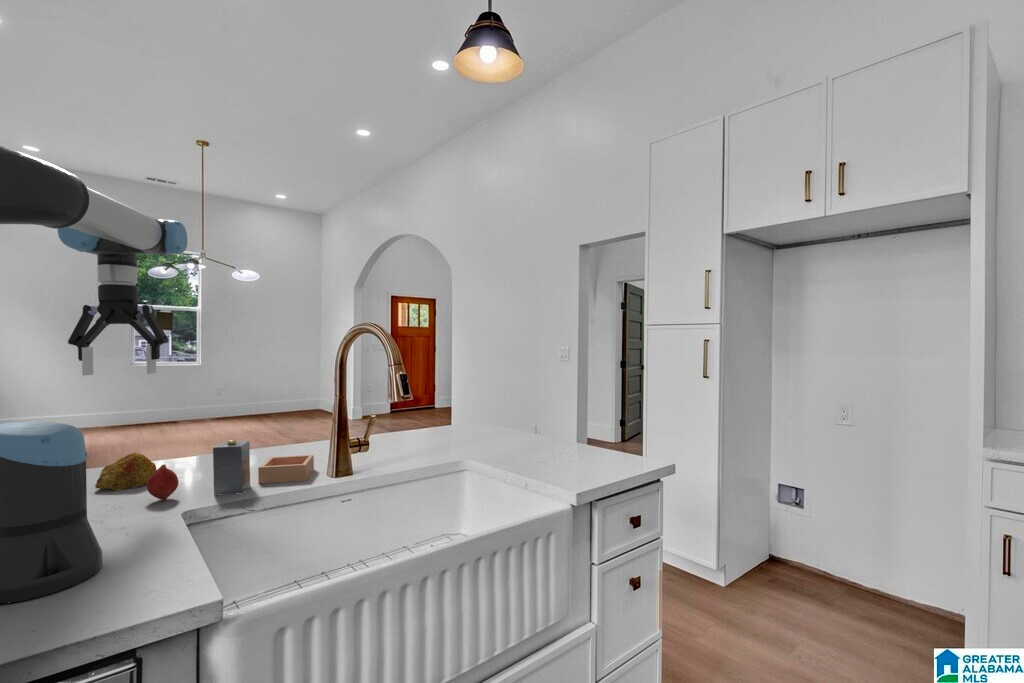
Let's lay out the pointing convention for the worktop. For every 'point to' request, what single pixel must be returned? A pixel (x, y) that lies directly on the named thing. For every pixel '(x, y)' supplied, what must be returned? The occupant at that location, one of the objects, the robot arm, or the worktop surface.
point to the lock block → (231, 467)
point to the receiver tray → (286, 469)
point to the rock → (126, 472)
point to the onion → (162, 483)
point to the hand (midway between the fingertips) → (120, 374)
